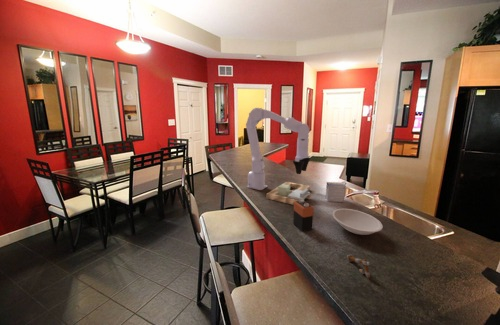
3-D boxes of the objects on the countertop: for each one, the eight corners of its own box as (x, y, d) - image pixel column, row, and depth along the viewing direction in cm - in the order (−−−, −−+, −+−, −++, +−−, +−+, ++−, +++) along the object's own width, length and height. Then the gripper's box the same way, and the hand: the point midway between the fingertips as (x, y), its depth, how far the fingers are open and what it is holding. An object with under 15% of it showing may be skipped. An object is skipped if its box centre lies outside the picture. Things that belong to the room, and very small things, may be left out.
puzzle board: (266, 198, 111) (266, 193, 110) (286, 185, 130) (286, 181, 129) (302, 206, 101) (302, 201, 100) (317, 191, 120) (318, 187, 119)
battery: (302, 221, 87) (303, 197, 85) (312, 229, 81) (314, 204, 79) (292, 223, 86) (293, 199, 83) (302, 232, 79) (303, 206, 77)
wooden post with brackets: (368, 279, 56) (365, 260, 57) (349, 271, 63) (346, 254, 64) (374, 278, 56) (371, 259, 57) (354, 270, 64) (352, 253, 65)
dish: (322, 223, 86) (323, 211, 84) (351, 217, 90) (352, 206, 89) (358, 249, 69) (360, 235, 68) (391, 240, 74) (393, 227, 73)
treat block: (277, 197, 111) (278, 186, 110) (281, 195, 115) (282, 184, 114) (286, 199, 109) (286, 188, 108) (289, 196, 113) (290, 185, 111)
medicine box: (341, 199, 110) (343, 182, 108) (344, 202, 105) (346, 185, 103) (325, 198, 111) (326, 181, 109) (327, 201, 106) (328, 184, 104)
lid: (287, 197, 105) (287, 191, 104) (295, 190, 113) (295, 186, 112) (302, 200, 101) (303, 195, 100) (310, 193, 109) (310, 188, 108)
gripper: (305, 149, 108) (303, 176, 111) (314, 146, 120) (312, 170, 123) (291, 148, 112) (290, 174, 115) (302, 145, 124) (300, 168, 127)
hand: (301, 172), depth 119 cm, fingers open, 7 cm apart
